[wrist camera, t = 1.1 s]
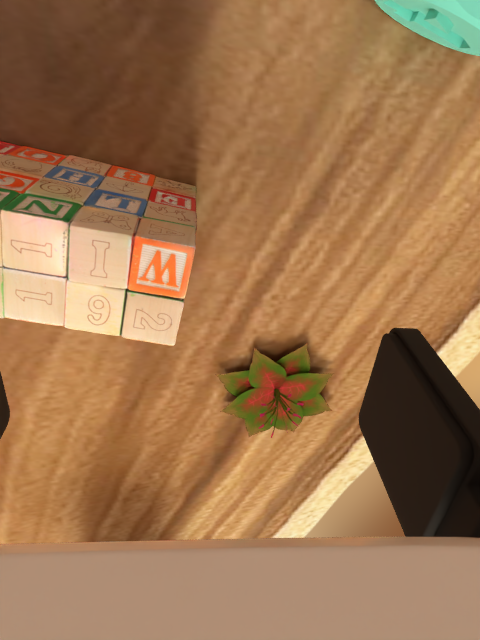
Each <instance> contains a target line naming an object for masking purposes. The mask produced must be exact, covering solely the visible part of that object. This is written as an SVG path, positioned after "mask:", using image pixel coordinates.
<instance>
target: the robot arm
mask: <svg viewBox="0 0 480 640" xmlns="http://www.w3.org/2000/svg"><path fill="white" fill-rule="evenodd" d="M9 417H10V410H9V405H8V401H7V397H6V393H5V389H4V385H3V381H2V376H1V372H0V439H1V437H2V435H3V433H4V431H5V429H6V427H7V425H8V422H9ZM359 425H360V428H361V431H362V433H363V436H364V438H365V440H366V443H367V445H368V448H369V450H370V452H371V455H372V457H373V460H374V462H375V464H376V467H377V469H378V471H379V474H380V476H381V479H382V481H383V483H384V486H385V488H386V491H387V493H388V496H389V498H390V500H391V503H392V505H393V507H394V510H395V512H396V515H397V517H398V519H399V522H400V524H401V527H402V529H403V531H404V534H405V536H406V537H332V538H263V539H209V540H159V541H111V542H71V543H31V544H0V640H480V409H479V408H478V407H477V406H476V404H475V403H474V402H473V400H472V399H471V398H470V397H469V395H468V394H467V392H466V391H465V390H464V389H463V388H462V386H461V385H460V383H459V382H458V381H457V380H456V378H455V377H454V376H453V374H452V373H451V372H450V370H449V369H448V368H447V366H446V365H445V364H444V362H443V361H442V360H441V359H440V357H439V356H438V355H437V353H436V352H435V351H434V349H433V348H432V347H431V346H430V344H429V343H428V342H427V340H426V339H425V338H424V336H423V335H422V334H421V332H420V331H419V330H418V329H409V328H393V329H392V330H391V331H390V333H389V334H387V333H386V334H384V336H383V337H382V340H381V343H380V347H379V350H378V353H377V357H376V360H375V363H374V367H373V370H372V373H371V376H370V380H369V383H368V386H367V390H366V393H365V396H364V400H363V403H362V406H361V410H360V413H359Z"/></svg>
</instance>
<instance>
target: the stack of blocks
mask: <svg viewBox="0 0 480 640" xmlns="http://www.w3.org/2000/svg"><path fill="white" fill-rule="evenodd" d="M195 199H196V187H195V186H193V185H189V184H185V183H181V182H177V181H173V180H168V179H164V178H160V177H156V176H155V175H152V174H148V173H144V172H140V171H136V170H131V169H127V168H123V167H119V166H113V165H110V164H106V163H102V162H99V161H94V160H90V159H86V158H81V157H77V156H73V155H68V156H64V155H61V154H57V153H52V152H48V151H44V150H40V149H35V148H31V147H27V146H18V145H14V144H10V143H6V142H2V141H0V318H5V317H6V318H10V319H15V320H21V321H28V322H37V323H42V324H48V325H56V326H64V327H65V328H69V329H75V330H82V331H88V332H94V333H101V334H108V335H114V336H119V335H121V336H122V337H124V338H127V339H133V340H139V341H146V342H152V343H158V344H164V345H175V341H176V336H177V332H178V328H179V323H180V319H181V315H182V310H183V306H184V298H185V295H186V291H187V286H188V282H189V277H190V272H191V268H192V263H193V258H194V253H195V234H196V229H197V224H196V223H197V221H196V219H197V215H196V200H195Z"/></svg>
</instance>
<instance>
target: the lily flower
mask: <svg viewBox="0 0 480 640" xmlns="http://www.w3.org/2000/svg"><path fill="white" fill-rule="evenodd" d="M307 347H308V343H307V344H305V345H304V346H302V347H301V348H299V349H297V350H296V351H295V352H294V351H293V352H291V353H290V354H288V355H286V356H284V357H283V358H281V359H280V360H278V361H277V362H276V363H275V362H274V361H273V360H271V359H270V358H268V357H267V356H265V355H263V354H260V353H259V351H258V350H256V349H255V348H254V354H253V358H252V361H253V362H252V363H251V366H250V370H249V371H241V372H233V373H227V374H224V375H221V374H220V375H216V376H217V377H219V379H220V381H221V382H222V383H224V386H225V388H226V389H227V390H228V392H230V393H231V394H232V395H234V396H236V397H237V398H236V399H235V400H234V401H233V402H231V403H230V404H229V405H228V406H227V407H226V409H223V410H222V411H220V412H225V413H228V414H230V415H232V414H234V415H235V416H236V417H239V418H242V419H245V425H246V428H247V431H248V432H249V437H250V436H252V435H254V434H257V433H259V432H263V431H266V430H268V429H269V428H271V427H272V426H274V428H275V427H276V428H277V429H280V430H286V431H287V430H290V431H293V432H294V431H295V429H296V428H297V426H298V425H299V424H300V423H301V422H302V418H303V416H312V415H316V414H320V413H323V412H324V411H325V410H326V411H332V410H331V409H330V407H329V406H328V404H326V401H325V400H324V398H323V397H322V396H321V395H320V394H319V393H321V391H322V390H323V388H324V387H325V385H326V384H327V382H328V378H330V377H331V376H332V375H333V374H334V373H330V374H329V373H324V374H320V373H309V371H310V358H309V353H308V352H307V350H306V349H307ZM273 433H274V430H273ZM273 433H272V436H273ZM272 436H271V438H272Z"/></svg>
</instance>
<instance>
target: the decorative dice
mask: <svg viewBox="0 0 480 640" xmlns="http://www.w3.org/2000/svg"><path fill="white" fill-rule="evenodd" d="M375 2H376V3H377V5H378V6H379V7H380V8H381V9H382V10H383V11H384V12H385V13H387V14H388V15H389V16H390V17H392V18H393V19H394V20H396V21H397V22H399V23H400V24H402V25H404V26H405V27H407V28H409V29H410V30H412V31H414V32H416V33H418V34H419V35H421V36H423V37H425V38H428V39H430V40H432V41H434V42H436V43H439V44H441V45H443V46H446V47H449V48H451V49H454V50H457V51H460V52H464V53H467V54H472V55H477V56H480V0H375Z"/></svg>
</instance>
